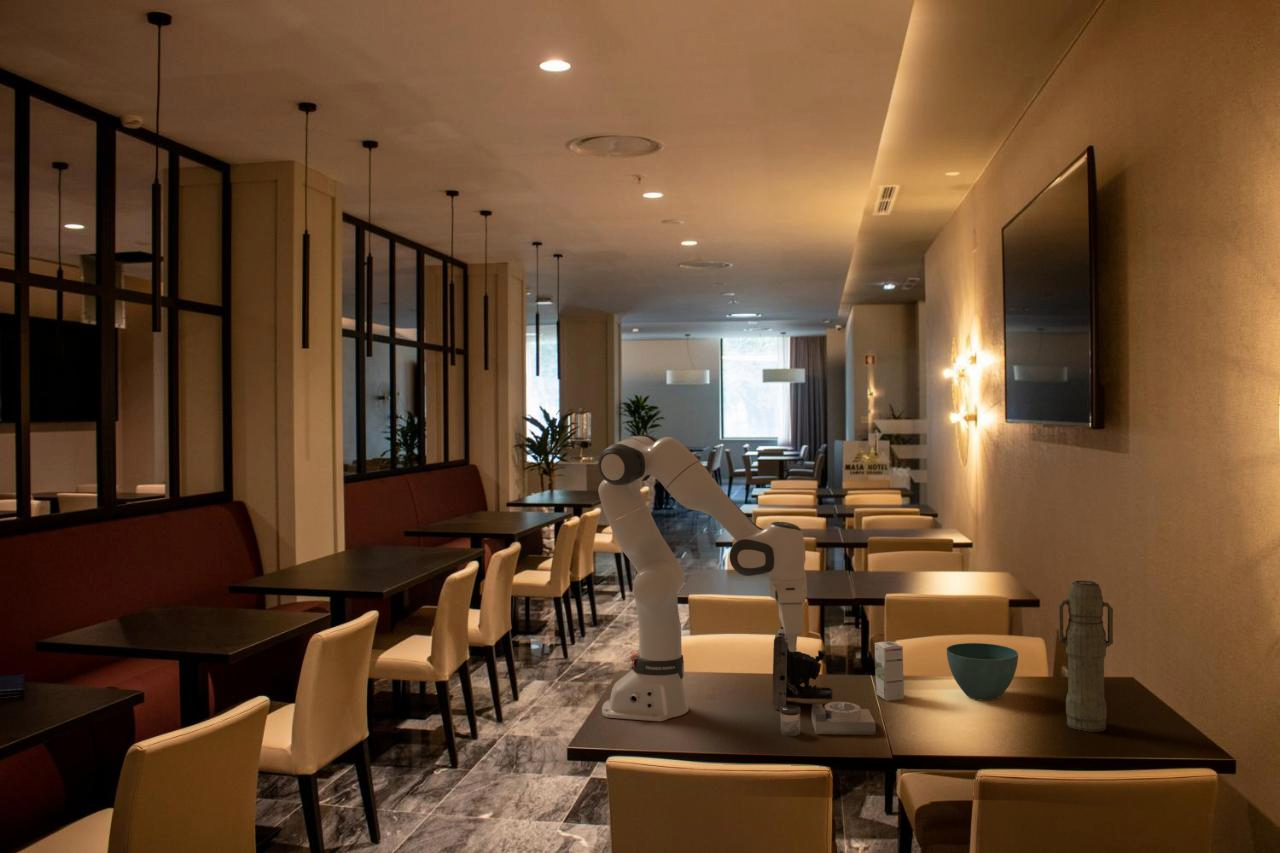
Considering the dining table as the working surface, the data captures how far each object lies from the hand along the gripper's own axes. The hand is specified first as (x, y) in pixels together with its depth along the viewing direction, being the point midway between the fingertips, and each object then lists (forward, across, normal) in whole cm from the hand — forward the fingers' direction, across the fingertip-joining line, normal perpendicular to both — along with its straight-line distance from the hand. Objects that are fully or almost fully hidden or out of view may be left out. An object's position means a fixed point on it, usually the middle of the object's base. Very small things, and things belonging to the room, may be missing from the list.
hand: (790, 646), depth 229 cm
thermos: (+23, -5, +71) cm, 75 cm away
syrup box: (+21, -28, +28) cm, 45 cm away
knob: (+20, +1, -1) cm, 21 cm away
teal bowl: (+22, -29, +53) cm, 65 cm away
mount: (+21, -3, +12) cm, 24 cm away
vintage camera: (+21, -20, +4) cm, 29 cm away
